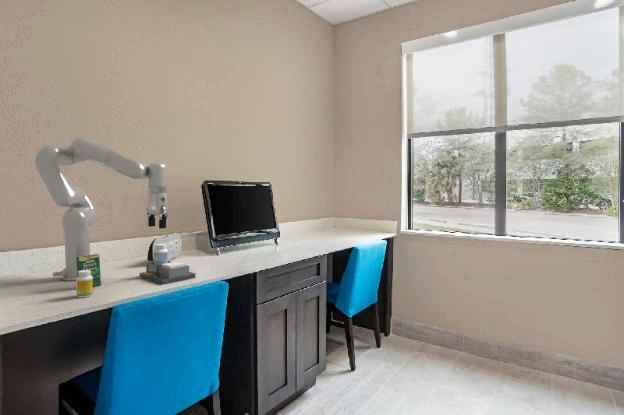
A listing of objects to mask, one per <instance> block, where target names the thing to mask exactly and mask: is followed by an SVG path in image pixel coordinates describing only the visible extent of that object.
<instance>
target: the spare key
mask: <svg viewBox="0 0 624 415" xmlns="http://www.w3.org/2000/svg"><path fill="white" fill-rule="evenodd" d="M185 265H186V263H183V262H179V261H171V263H165V264H162V267H165V268H168V269H173V268H178V267H184V266H185Z"/></svg>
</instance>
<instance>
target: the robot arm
mask: <svg viewBox="0 0 624 415" xmlns="http://www.w3.org/2000/svg"><path fill="white" fill-rule="evenodd" d="M85 161H90V162H92V163H96V164H97V165H100V166H102V167H104V168H106V169H108V170H112V171H114V172H116V173H119V174H121V175H123V176H126V177H128V178H131V179H133V180H134V179H135V180H136V179H137V180H146V179H148V182H147V183H148V187H147V189H148V201H147V208H146V213H147V220H148V222H147V226H148V227H151V228H152V227H156V216H158V218H159V220H158V228H159V229H161V230H162V229H166V228H167V220H168V214H169V209H168V208H169V207H168V198H167V196H168V195H167V166H166V165H165V163H144V162H140V161H136V160H133V159H130V157H129V158H128V157H126V156H124V155H122V154H119V153H118V152H117V151H116V150H114V149H112V148H111V147H108V146H106V145H102V144H100V143H98V142H96V141H95V140H93V139H90V138H86V137H77V138H74V140H72V142H71V143H70V145H68V146H66V147H65V146H59V145H55V144H53V145H52V144H50V145H46V146H43V147H42V148H40V149H39V150H38V151H37V153H36V156H35V158H34V164H35V168H36V171H37V173H38V174H39V176H40V178H41V179H42V181H43V183H44V185H45V187H46V189H47V191H48V193H49V194H50V196H51V197H52V200H53V202H54V203H55V205H57V206H59V207H61V208H68V209H67V210H66V211H65V212H64V213H63V214H62V217H61V225H62V229H63V236H64V254H65V255H64V256H65V257H64V258H65V260H64V261H65V264H64V265H65V267H64V268H62V269H63V270H62V269H61V271H55V272H54V271H53V272H52V277H54V278H55V277H61V280H63V281H67V282H68V281H69V282H73V281H76V278H77V260H76V257H81V256H88V255H91V243H90V242H91V241H90V232H89V227H91V226H92V225H93V224H95V223H96V221H97V219H98V215H97V212H96V210H95V208H94V206H93V203H92V202H91V200H90V199H89V197H88V195H87V193H86V192H85V191H84V190H83V189H82V188H81V187H79V186H76V185H71V183H70V181H69V180H68V178H67V176H66V174H65V172H64V171H63V170H62V169H61V168H60V166H62V167H69V166H73V165H76V164H80V163H83V162H85Z"/></svg>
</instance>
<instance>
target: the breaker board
mask: <svg viewBox="0 0 624 415" xmlns="http://www.w3.org/2000/svg"><path fill="white" fill-rule="evenodd" d="M171 262H172V261H171V260H169V261H168V263H171ZM138 274H139V278H140V277H141V279H143V280H147V279H148V280H147V281H150V280H151V281H150V282H153V281H154V282H153V283H156V284H159V285H163V286H164V284H165V285H169V284H173V282H174V283H177V282H182V281H186V280H192V279H196V272H192V271H190V265H187V264H185V266H184V267H178V268H173V269H168V268H165V267H162V265H158V266H157V265H154V261H149V262H146V263H145V271H143V272H142V271H141V272H139V273H138Z"/></svg>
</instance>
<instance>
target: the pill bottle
mask: <svg viewBox="0 0 624 415" xmlns="http://www.w3.org/2000/svg"><path fill="white" fill-rule="evenodd" d="M155 247H156V249H155V250H154V261H153V262H154V265H157V266H158V265H162V264H165V263H168V251H167V249H165V248H166V244H156V245H155Z"/></svg>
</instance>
